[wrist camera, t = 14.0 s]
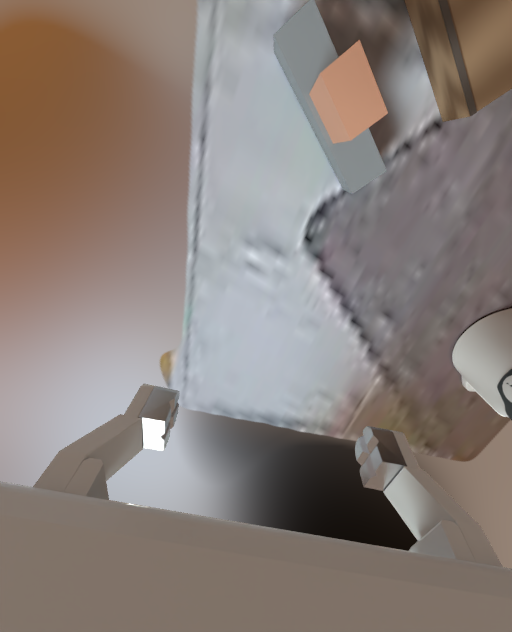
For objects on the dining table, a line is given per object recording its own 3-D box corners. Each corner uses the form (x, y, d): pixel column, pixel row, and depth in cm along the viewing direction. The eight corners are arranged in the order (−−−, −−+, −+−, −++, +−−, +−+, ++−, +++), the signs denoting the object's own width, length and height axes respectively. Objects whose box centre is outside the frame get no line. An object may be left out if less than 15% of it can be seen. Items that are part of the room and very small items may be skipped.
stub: (373, 169, 34) (420, 176, 23) (343, 189, 35) (373, 205, 24) (307, 20, 28) (327, -69, 17) (274, 52, 29) (272, -11, 18)
